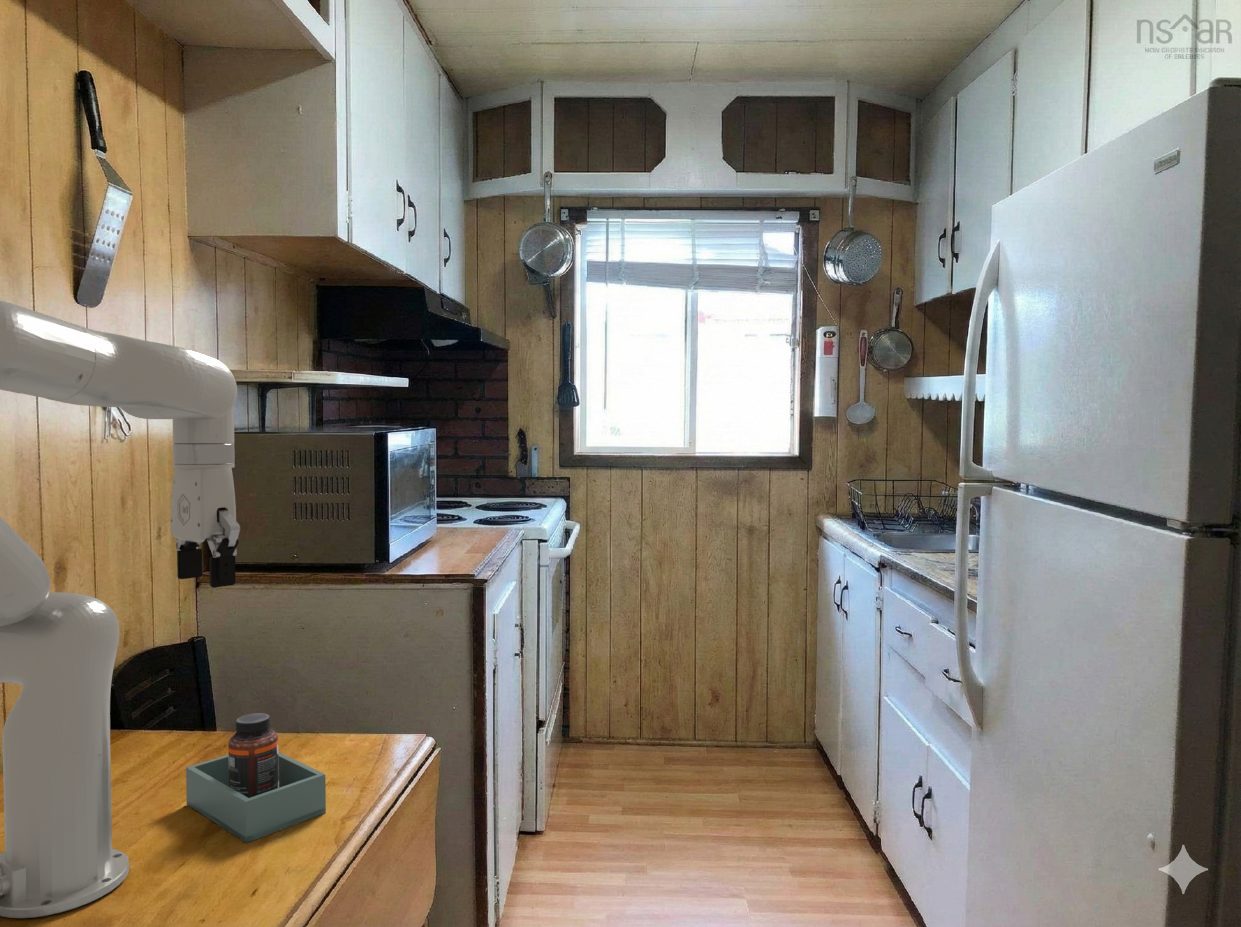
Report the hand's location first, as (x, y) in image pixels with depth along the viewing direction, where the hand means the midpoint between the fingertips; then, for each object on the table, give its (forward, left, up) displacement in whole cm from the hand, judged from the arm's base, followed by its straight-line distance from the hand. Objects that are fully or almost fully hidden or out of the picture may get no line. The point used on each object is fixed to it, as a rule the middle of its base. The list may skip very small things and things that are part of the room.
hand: (206, 581), depth 114 cm
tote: (0, -12, -28) cm, 31 cm away
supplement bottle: (0, -12, -28) cm, 30 cm away
